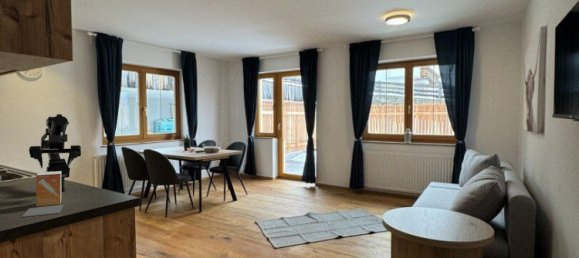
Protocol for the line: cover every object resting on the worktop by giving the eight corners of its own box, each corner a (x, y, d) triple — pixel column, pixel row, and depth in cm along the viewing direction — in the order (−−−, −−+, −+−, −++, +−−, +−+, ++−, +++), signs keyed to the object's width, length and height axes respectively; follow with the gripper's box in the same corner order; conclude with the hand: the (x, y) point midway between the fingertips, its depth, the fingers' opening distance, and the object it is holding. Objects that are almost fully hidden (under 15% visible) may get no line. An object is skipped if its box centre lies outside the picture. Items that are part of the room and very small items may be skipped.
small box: (36, 207, 127) (35, 175, 126) (37, 203, 132) (37, 172, 132) (61, 204, 132) (60, 173, 131) (61, 200, 137) (61, 170, 136)
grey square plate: (29, 209, 125) (29, 208, 124) (63, 205, 130) (63, 204, 130) (22, 217, 115) (22, 216, 115) (59, 213, 120) (59, 212, 120)
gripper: (29, 127, 138) (24, 157, 129) (80, 128, 147) (79, 155, 139) (32, 143, 145) (28, 172, 137) (81, 142, 155) (80, 169, 146)
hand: (54, 167), depth 139 cm, fingers open, 9 cm apart
